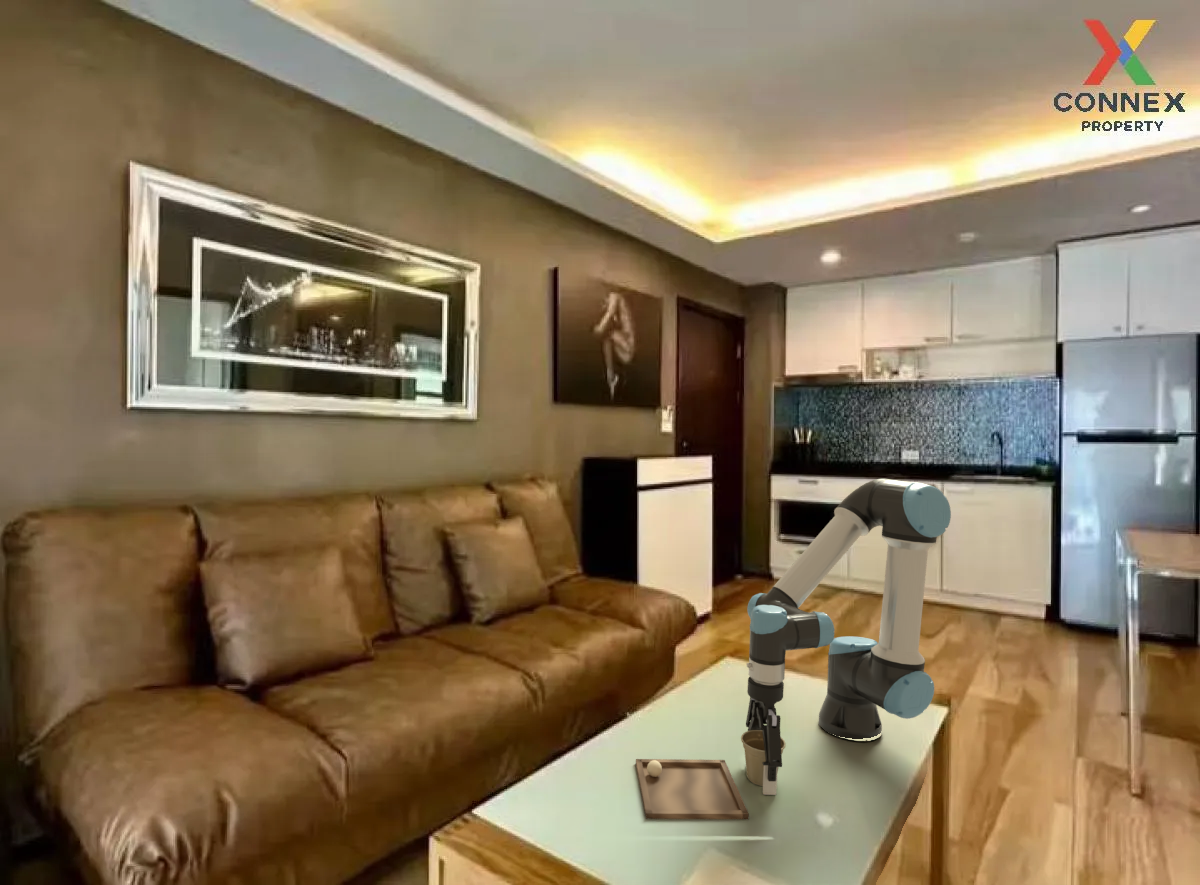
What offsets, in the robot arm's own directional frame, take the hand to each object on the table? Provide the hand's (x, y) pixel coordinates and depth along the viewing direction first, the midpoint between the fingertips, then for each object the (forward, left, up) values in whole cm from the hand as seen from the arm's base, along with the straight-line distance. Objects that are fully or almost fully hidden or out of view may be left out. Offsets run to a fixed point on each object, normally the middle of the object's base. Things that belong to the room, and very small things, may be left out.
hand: (761, 778), depth 142 cm
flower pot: (0, 0, 0) cm, 0 cm away
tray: (+17, +5, 0) cm, 18 cm away
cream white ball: (+23, 0, 0) cm, 23 cm away
